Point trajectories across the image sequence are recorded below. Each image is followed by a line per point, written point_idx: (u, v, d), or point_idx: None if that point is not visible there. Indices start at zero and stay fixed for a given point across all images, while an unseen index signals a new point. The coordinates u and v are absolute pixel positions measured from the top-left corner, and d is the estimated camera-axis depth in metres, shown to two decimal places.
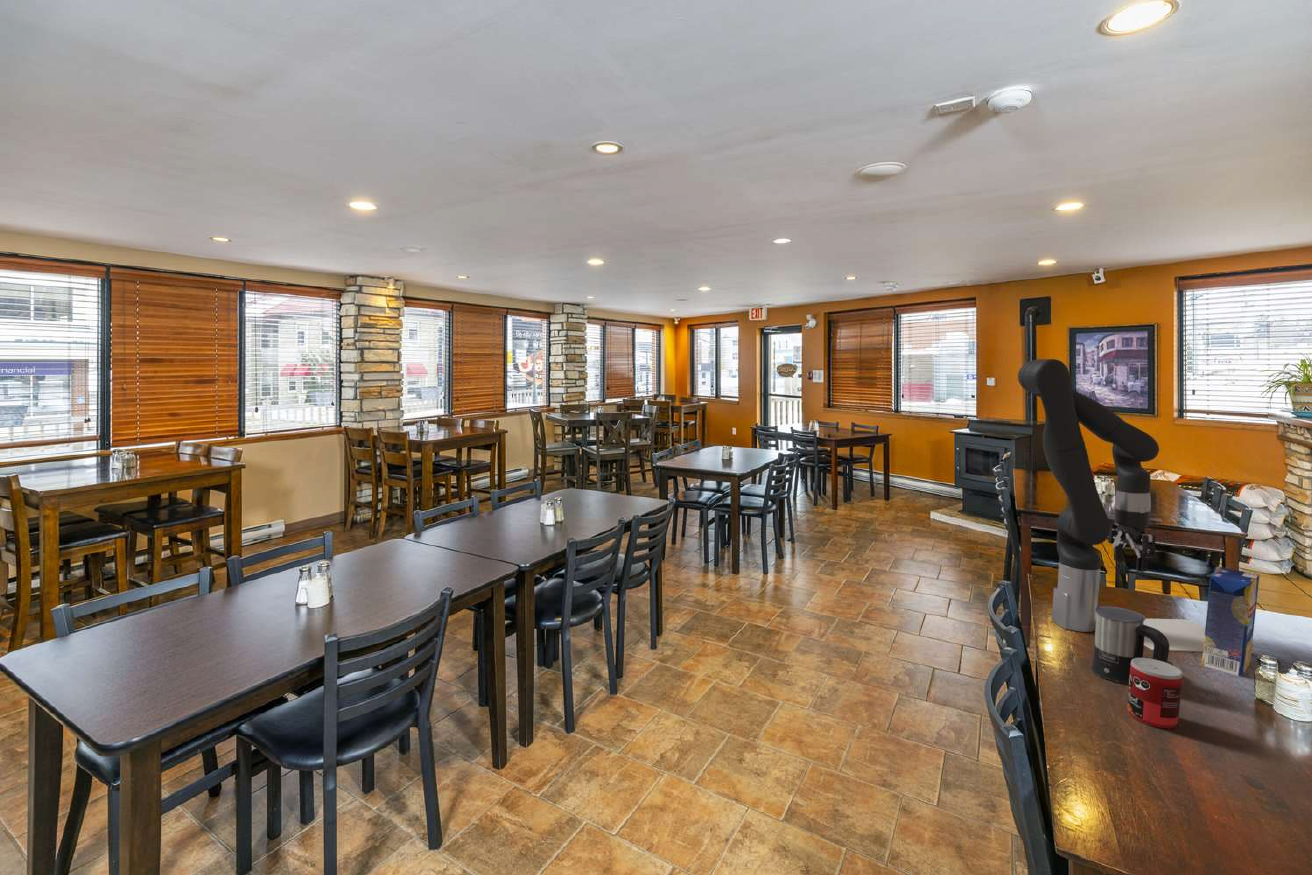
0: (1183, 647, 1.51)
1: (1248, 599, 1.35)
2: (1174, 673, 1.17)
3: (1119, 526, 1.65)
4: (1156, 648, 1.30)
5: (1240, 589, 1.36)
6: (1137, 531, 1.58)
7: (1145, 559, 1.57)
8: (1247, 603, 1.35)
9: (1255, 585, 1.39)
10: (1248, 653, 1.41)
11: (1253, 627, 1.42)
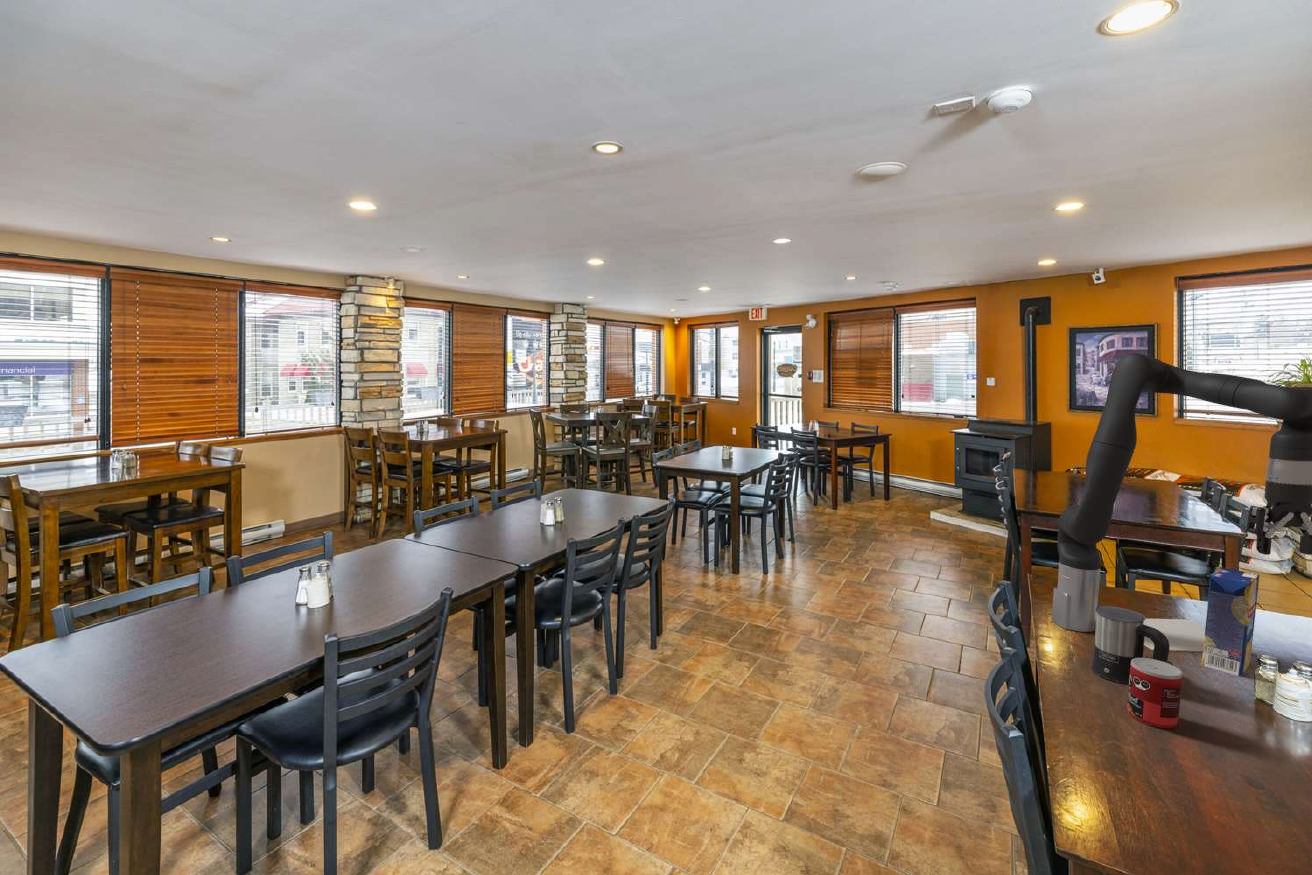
0: (1183, 647, 1.51)
1: (1248, 599, 1.35)
2: (1174, 673, 1.17)
3: (1278, 508, 1.28)
4: (1156, 648, 1.30)
5: (1240, 589, 1.36)
6: (1311, 506, 1.27)
7: None
8: (1247, 603, 1.35)
9: (1255, 585, 1.39)
10: (1248, 653, 1.41)
11: (1253, 627, 1.42)
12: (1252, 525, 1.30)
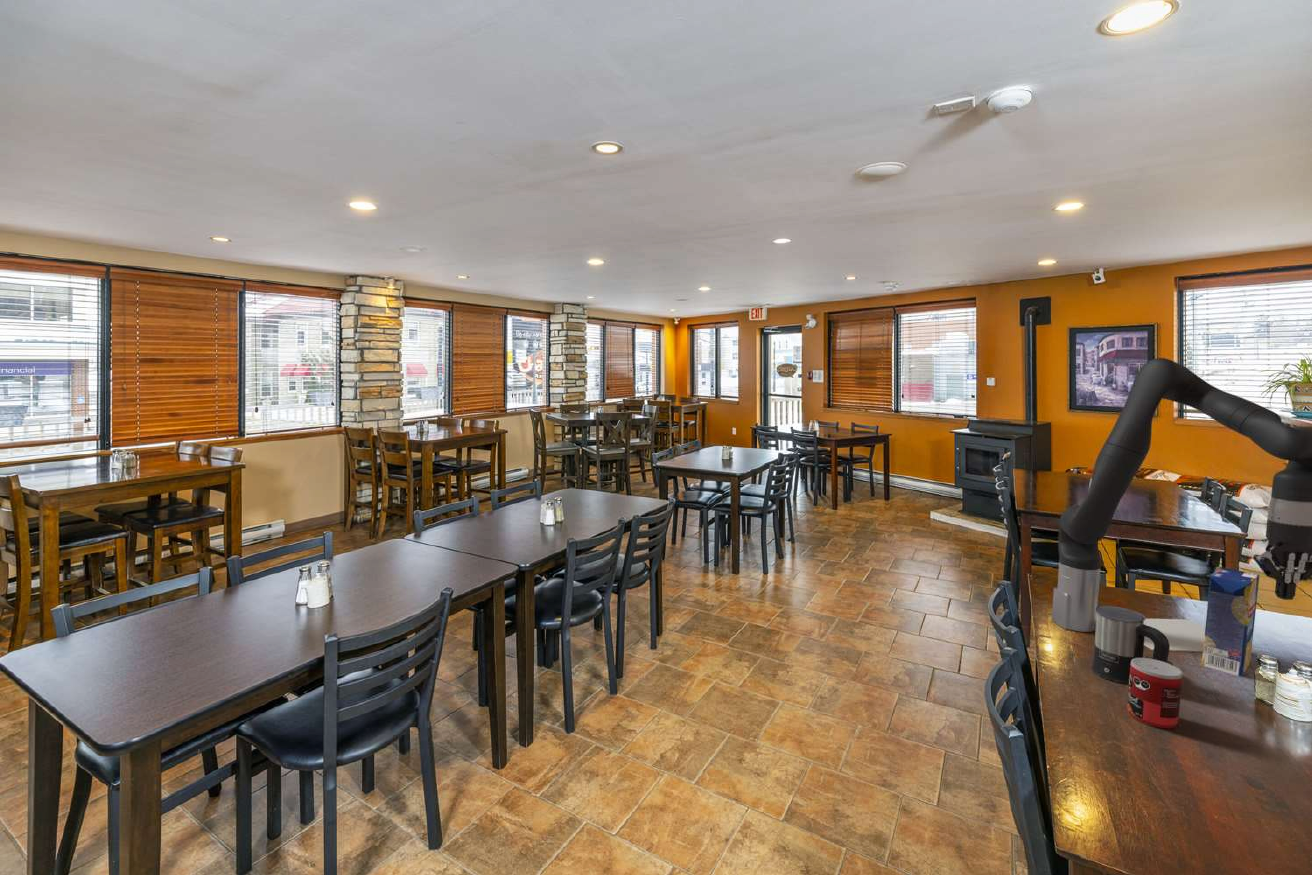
0: (1183, 647, 1.51)
1: (1248, 599, 1.35)
2: (1174, 673, 1.17)
3: (1277, 549, 1.27)
4: (1156, 648, 1.30)
5: (1240, 589, 1.36)
6: None
7: None
8: (1247, 603, 1.35)
9: (1255, 585, 1.39)
10: (1248, 653, 1.41)
11: (1253, 627, 1.42)
12: (1268, 570, 1.29)
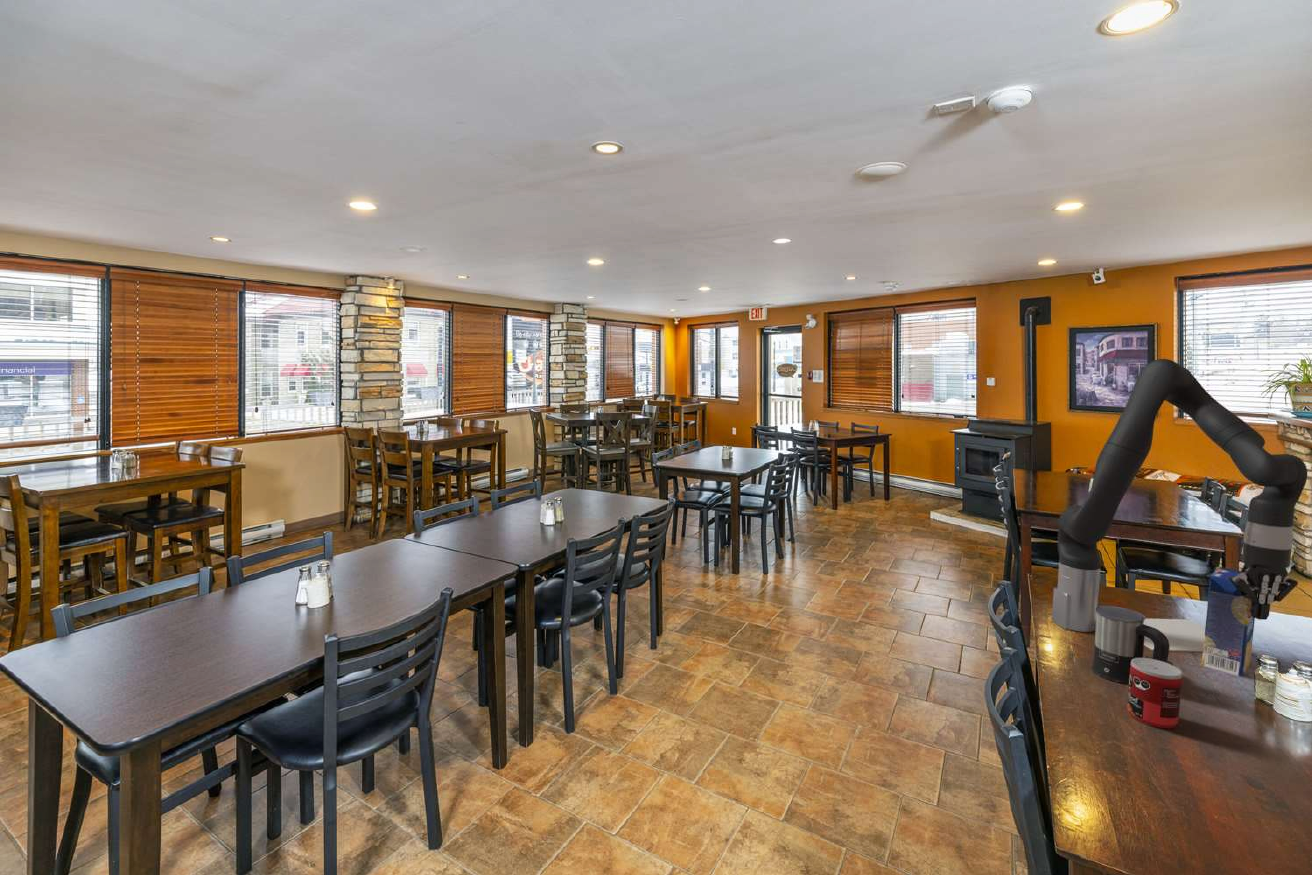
0: (1183, 647, 1.51)
1: (1248, 599, 1.35)
2: (1174, 673, 1.17)
3: (1252, 570, 1.32)
4: (1156, 648, 1.30)
5: None
6: None
7: None
8: (1247, 603, 1.35)
9: None
10: (1248, 653, 1.41)
11: (1253, 627, 1.42)
12: None
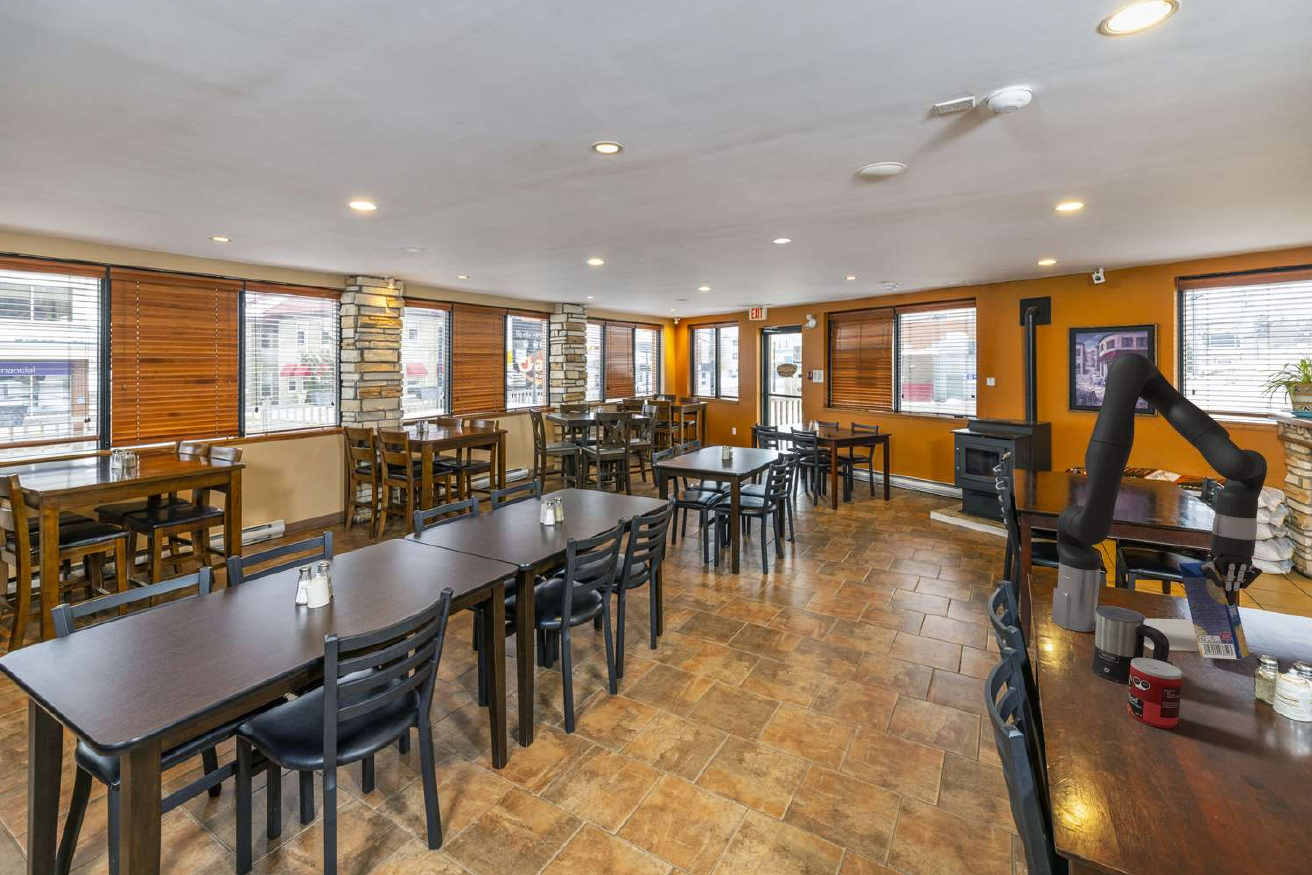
0: (1183, 647, 1.51)
1: (1218, 577, 1.42)
2: (1174, 673, 1.17)
3: (1219, 559, 1.41)
4: (1156, 648, 1.30)
5: None
6: None
7: None
8: None
9: None
10: (1241, 640, 1.42)
11: (1238, 615, 1.45)
12: None
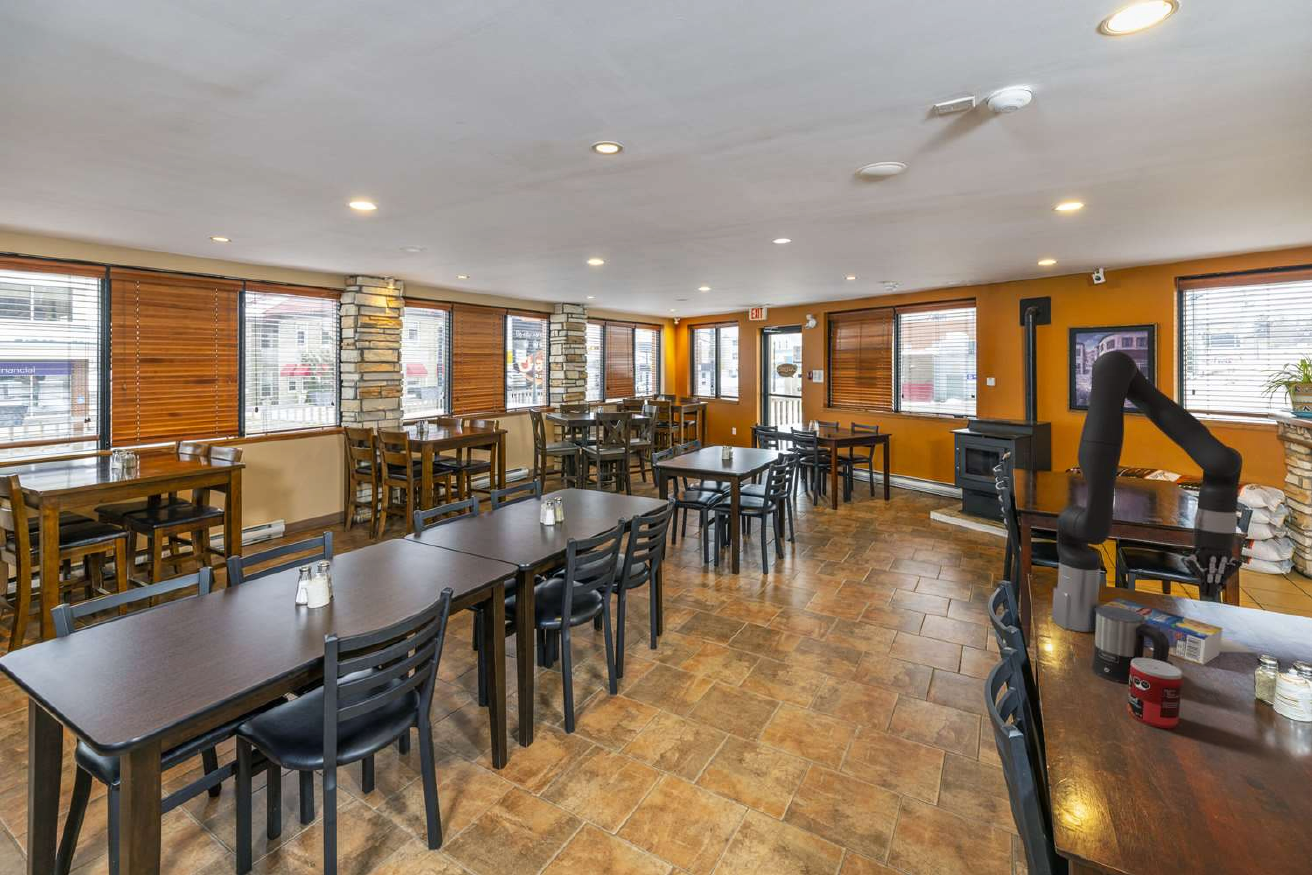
0: None
1: None
2: (1174, 673, 1.17)
3: (1201, 552, 1.46)
4: (1156, 648, 1.30)
5: None
6: None
7: None
8: None
9: (1118, 603, 1.62)
10: (1197, 626, 1.48)
11: (1175, 615, 1.55)
12: (1194, 571, 1.48)
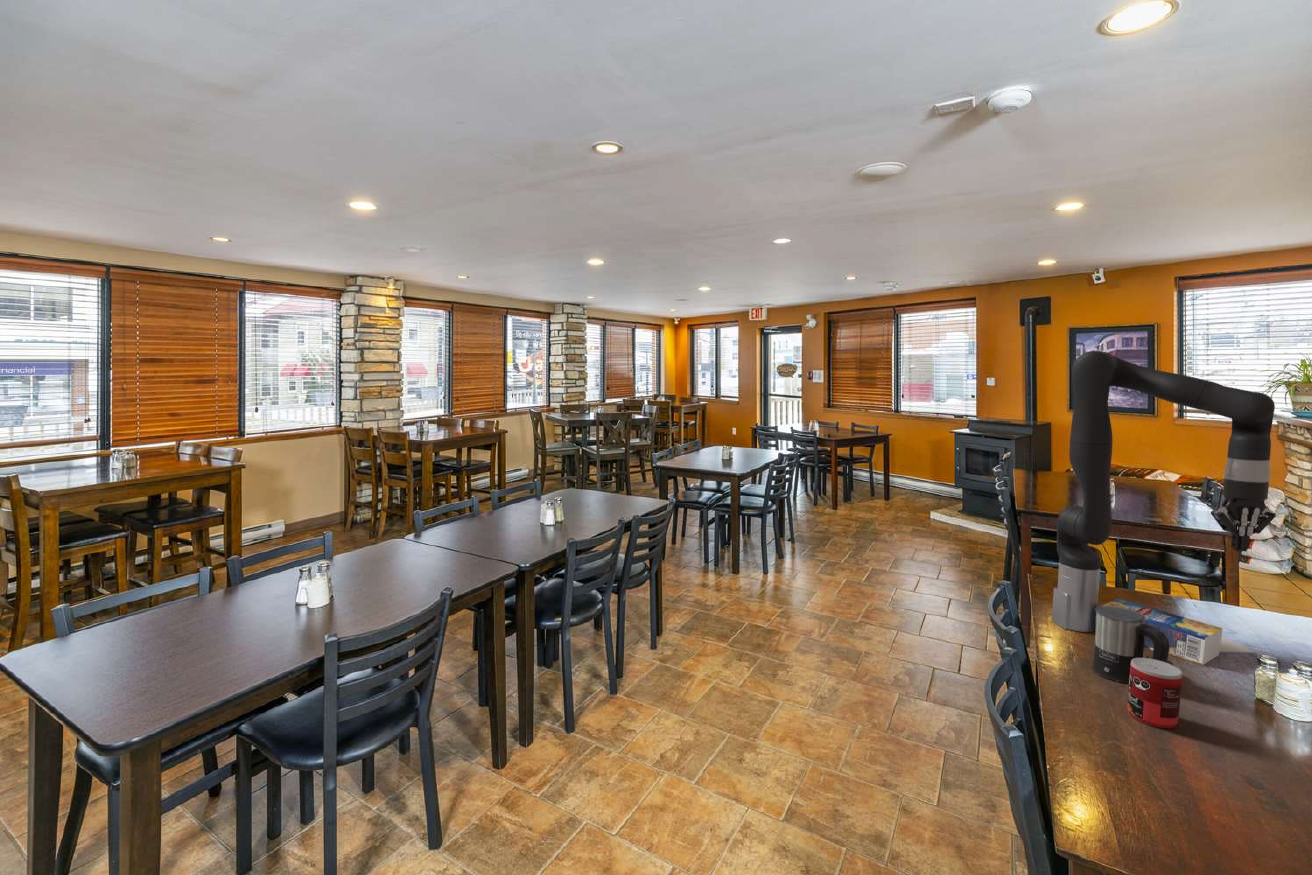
0: None
1: None
2: (1174, 673, 1.17)
3: (1232, 504, 1.39)
4: (1156, 647, 1.30)
5: None
6: None
7: None
8: None
9: (1118, 603, 1.62)
10: (1197, 626, 1.48)
11: (1175, 615, 1.55)
12: (1224, 525, 1.41)
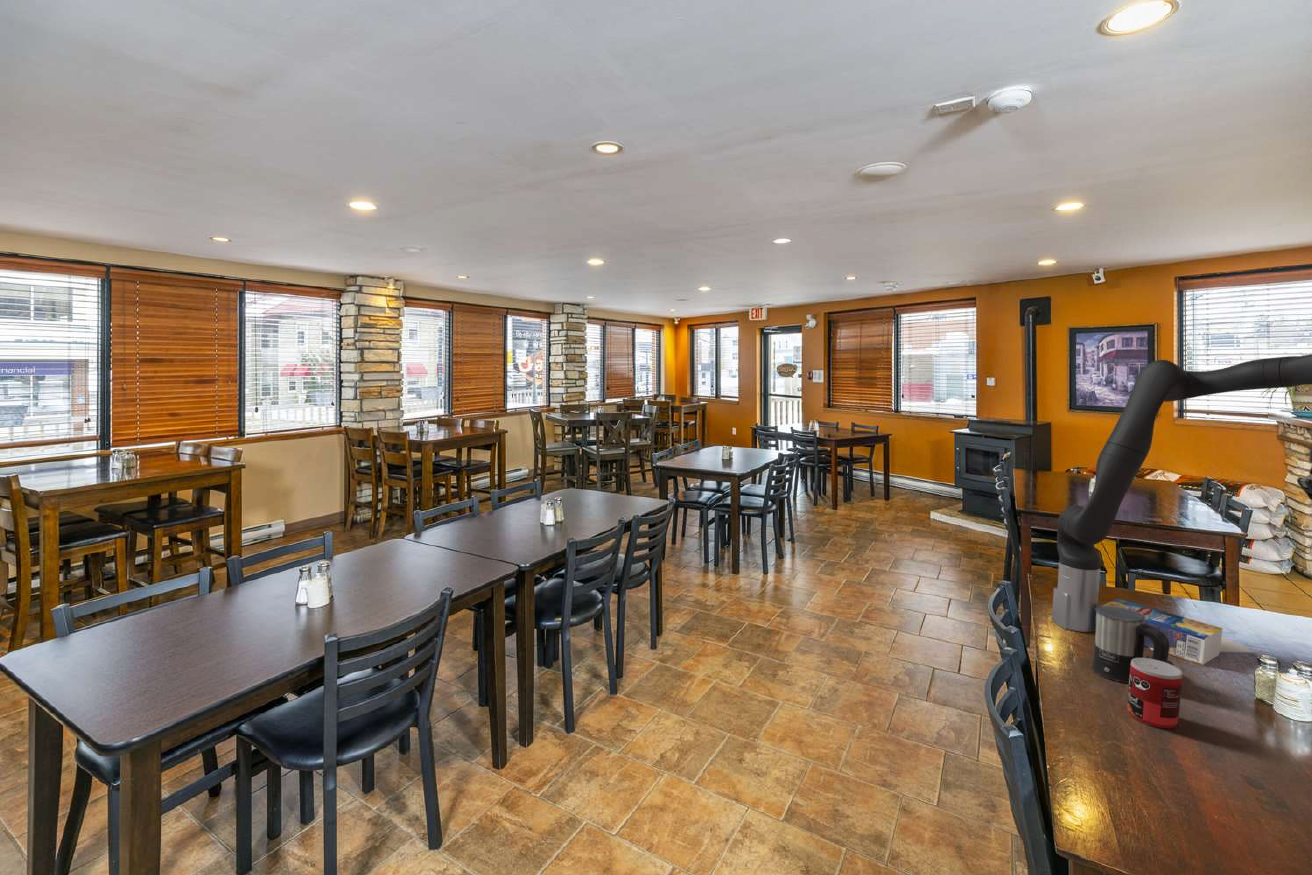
0: None
1: None
2: (1174, 673, 1.17)
3: None
4: (1156, 647, 1.30)
5: None
6: None
7: None
8: None
9: (1118, 603, 1.62)
10: (1197, 626, 1.48)
11: (1175, 615, 1.55)
12: (1311, 493, 1.32)
